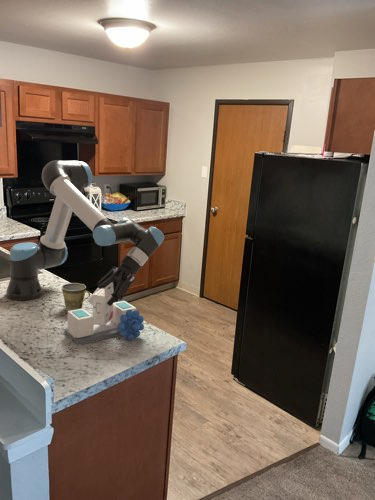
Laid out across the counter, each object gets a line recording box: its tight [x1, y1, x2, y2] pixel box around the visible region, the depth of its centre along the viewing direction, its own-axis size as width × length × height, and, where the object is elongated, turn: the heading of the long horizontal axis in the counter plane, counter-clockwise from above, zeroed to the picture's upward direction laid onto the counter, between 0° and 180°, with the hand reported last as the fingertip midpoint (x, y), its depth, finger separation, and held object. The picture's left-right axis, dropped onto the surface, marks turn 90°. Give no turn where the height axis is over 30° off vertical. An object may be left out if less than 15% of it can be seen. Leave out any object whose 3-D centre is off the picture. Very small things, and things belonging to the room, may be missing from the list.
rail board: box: [63, 300, 137, 346], centre depth 160 cm, size 12×25×9 cm, turn 129°
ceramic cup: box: [61, 282, 91, 312], centre depth 179 cm, size 13×10×10 cm
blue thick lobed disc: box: [118, 309, 145, 341], centre depth 154 cm, size 12×7×12 cm, turn 133°
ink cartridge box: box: [92, 282, 115, 326], centre depth 158 cm, size 9×5×15 cm, turn 168°
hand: (95, 306), depth 157 cm, fingers closed on ink cartridge box, 9 cm apart
